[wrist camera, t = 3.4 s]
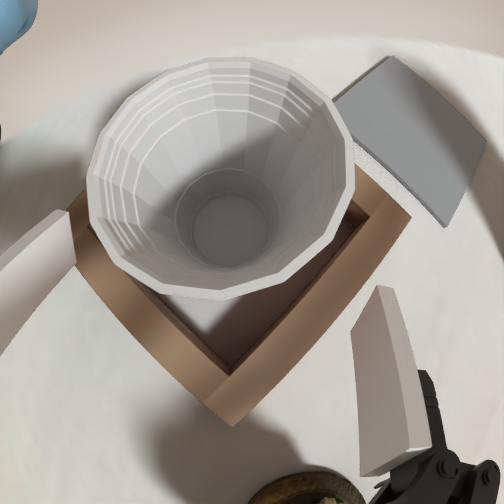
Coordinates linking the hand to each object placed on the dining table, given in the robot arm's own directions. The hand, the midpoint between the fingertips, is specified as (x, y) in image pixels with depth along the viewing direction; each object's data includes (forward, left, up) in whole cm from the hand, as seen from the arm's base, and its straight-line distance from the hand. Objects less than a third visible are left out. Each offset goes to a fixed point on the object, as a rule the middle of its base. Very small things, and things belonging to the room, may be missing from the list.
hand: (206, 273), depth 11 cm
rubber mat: (+3, +24, -10) cm, 26 cm away
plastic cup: (-3, +3, -10) cm, 11 cm away
